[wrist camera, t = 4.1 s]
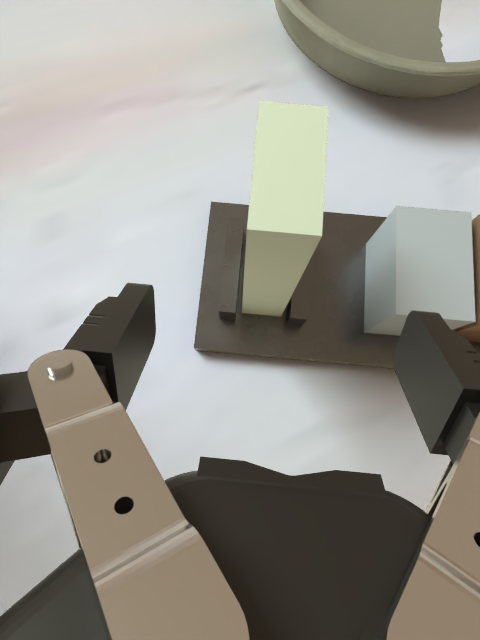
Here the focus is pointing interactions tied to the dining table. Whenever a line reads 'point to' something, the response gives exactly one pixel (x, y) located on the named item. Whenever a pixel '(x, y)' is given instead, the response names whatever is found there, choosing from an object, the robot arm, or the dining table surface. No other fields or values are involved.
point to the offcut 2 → (474, 330)
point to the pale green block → (284, 203)
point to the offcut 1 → (419, 269)
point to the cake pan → (378, 45)
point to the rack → (293, 297)
